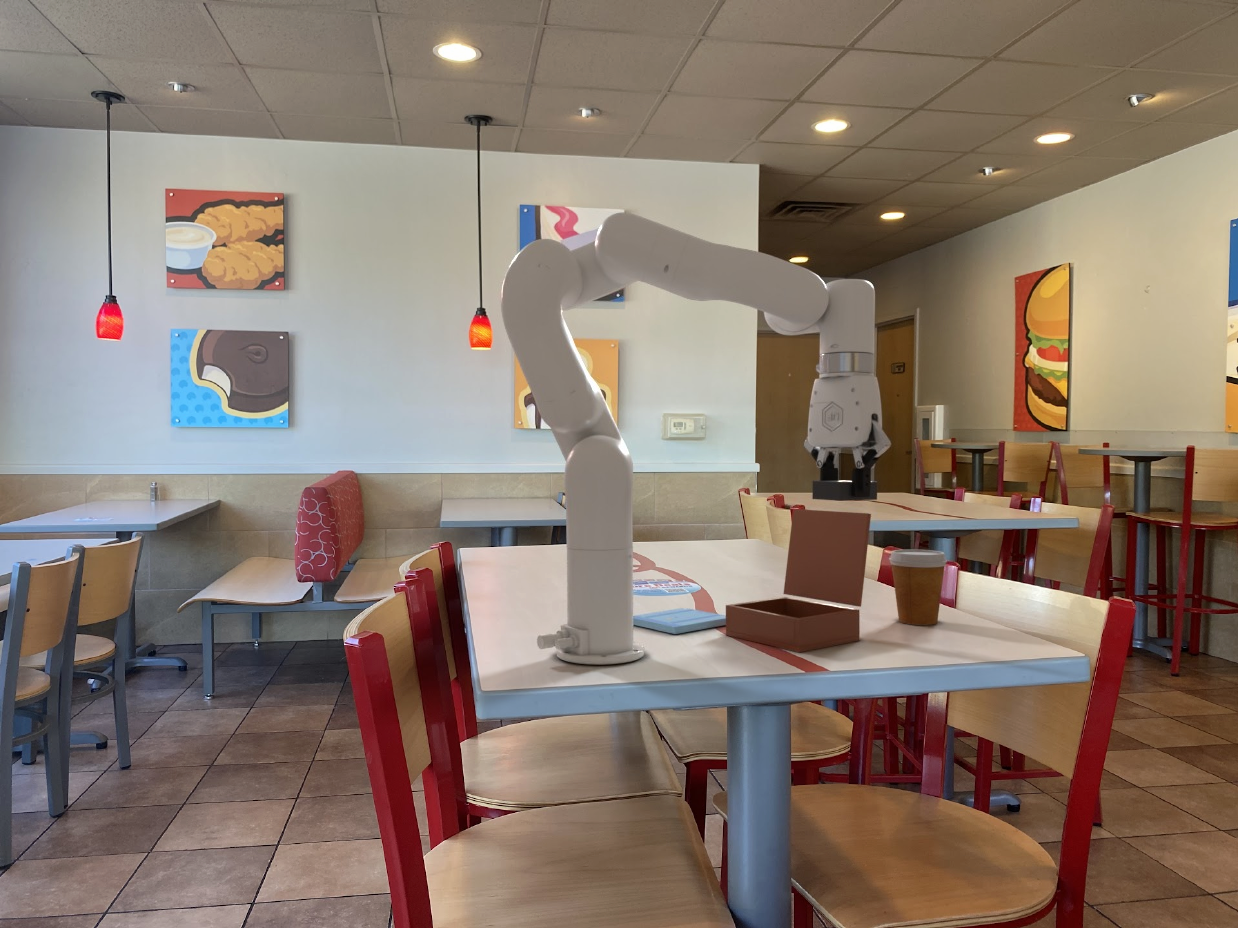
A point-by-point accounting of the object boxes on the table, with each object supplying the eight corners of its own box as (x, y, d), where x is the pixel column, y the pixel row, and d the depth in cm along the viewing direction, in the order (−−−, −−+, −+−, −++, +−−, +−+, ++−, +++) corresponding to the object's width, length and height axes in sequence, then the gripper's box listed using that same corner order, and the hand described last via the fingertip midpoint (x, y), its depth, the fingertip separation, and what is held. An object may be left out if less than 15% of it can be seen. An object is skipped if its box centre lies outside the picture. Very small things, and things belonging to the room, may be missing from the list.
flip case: (799, 652, 125) (799, 619, 125) (725, 634, 138) (725, 605, 138) (859, 640, 133) (859, 609, 133) (785, 625, 146) (784, 596, 146)
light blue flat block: (684, 614, 156) (684, 607, 156) (732, 623, 147) (732, 616, 147) (627, 623, 148) (626, 616, 148) (675, 634, 138) (675, 626, 138)
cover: (868, 513, 134) (871, 513, 135) (793, 508, 147) (796, 509, 147) (857, 606, 133) (861, 606, 133) (783, 593, 146) (786, 594, 146)
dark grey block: (839, 500, 118) (840, 481, 118) (812, 499, 123) (812, 480, 123) (877, 499, 123) (877, 481, 123) (849, 498, 127) (849, 480, 127)
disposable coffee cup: (918, 615, 154) (917, 548, 154) (959, 624, 146) (959, 553, 146) (877, 619, 150) (876, 550, 150) (917, 629, 142) (917, 556, 142)
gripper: (783, 371, 127) (782, 494, 128) (879, 361, 114) (877, 499, 114) (818, 374, 132) (816, 493, 132) (914, 365, 118) (912, 498, 118)
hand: (844, 494), depth 123 cm, fingers closed on dark grey block, 5 cm apart
